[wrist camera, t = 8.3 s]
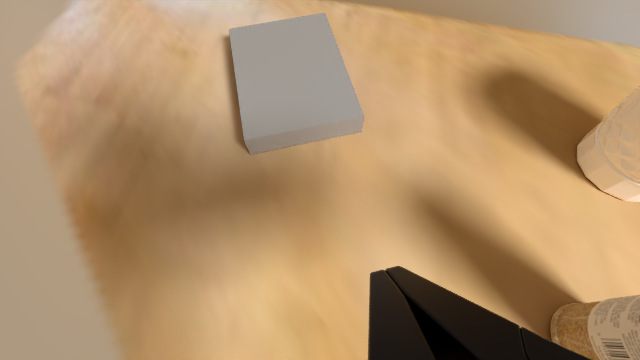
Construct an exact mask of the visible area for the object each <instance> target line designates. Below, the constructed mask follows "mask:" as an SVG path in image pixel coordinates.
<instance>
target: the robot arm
mask: <svg viewBox="0 0 640 360" xmlns="http://www.w3.org/2000/svg"><path fill="white" fill-rule="evenodd" d="M368 360H592V359H590V358H587V357H585V356H583V355H581V354H578V353H576V352H574V351H571V350H569V349H567V348H565V347H563V346H561V345H559V344H557V343H554V342H552V341H550V340H548V339H546V338H544V337H542V336H540V335H538V334H536V333H534V332H532V331H530V330H528V329H526V328H524V327H521V328H520V327H519V325H517V324H515V323H513V322H511V321H509V320H507V319H505V318H503V317H501V316H499V315H497V314H495V313H493V312H491V311H489V310H487V309H485V308H483V307H481V306H479V305H477V304H475V303H473V302H471V301H469V300H467V299H465V298H463V297H461V296H459V295H457V294H455V293H453V292H451V291H449V290H447V289H445V288H443V287H441V286H439V285H437V284H435V283H433V282H431V281H429V280H427V279H425V278H423V277H421V276H419V275H417V274H415V273H413V272H411V271H409V270H407V269H405V268H403V267H400V266H396V267H392V268H388V269H386V270H380V271H375V272H372V273H371V274H370V296H369V338H368Z"/></svg>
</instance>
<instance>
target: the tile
mask: <svg viewBox="0 0 640 360" xmlns="http://www.w3.org/2000/svg"><path fill="white" fill-rule="evenodd" d="M229 34H230V42H231V49H232V56H233V64H234V71H235V78H236V85H237V93H238V100H239V107H240V115H241V122H242V129H243V136H244V141H245V144H246V146H247V148H248V151H249V153H250V155H252V154H257V153H262V152H267V151H271V150H276V149H281V148H286V147H291V146H296V145H301V144H305V143H310V142H315V141H320V140H325V139H330V138H335V137H339V136H344V135H349V134H354V133H359V132H362V126H363V120H364V115H363V112H362V109H361V107H360V104H359V101H358V99H357V96H356V93H355V91H354V88H353V86H352V83H351V80H350V78H349V75H348V72H347V70H346V67H345V64H344V62H343V59H342V56H341V54H340V51H339V48H338V46H337V43H336V41H335V38H334V35H333V33H332V30H331V27H330V25H329V22H328V19H327V17H326V14H325V13H321V14H315V15H309V16H303V17H297V18H291V19H285V20H279V21H273V22H268V23H262V24H256V25H250V26H244V27H238V28H232V29H229Z"/></svg>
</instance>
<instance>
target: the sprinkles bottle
mask: <svg viewBox="0 0 640 360" xmlns="http://www.w3.org/2000/svg"><path fill="white" fill-rule="evenodd" d="M550 333H551V339H552V342H554V343H557V344H559V345H561V346H563V347H565V348H567V349H569V350H571V351H574V352H576V353H578V354H581V355H583V356H585V357H587V358H590V359H592V360H640V295H636V296H628V297H620V298H612V299H607V300H604V301H600V302H591V303H570V304H567V305H564V306H562V307H560V308H559V309H558V310H557V311H556V312H555V313H554V314H553V316H552V319H551V327H550Z"/></svg>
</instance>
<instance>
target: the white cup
mask: <svg viewBox="0 0 640 360" xmlns="http://www.w3.org/2000/svg"><path fill="white" fill-rule="evenodd" d="M577 162H578V164H579V165H580V167H581V169H582V171H583V173H584V174H585V176H586V177H587V178H588V179H589V180H590V181H591V182H592V183H593V184H595V185H596V186H597V187H598V188H599V189H600V190H602V191H603V192H605V193H608V194H610V195H612V196H614V197H617V198H619V199H621V200H623V201H632V202H640V85H639V86H638V87H637V88H636V89H635V90H634V91H633V92H632V93H631V94H630V95H629V96H627V97H626V98H625V99H624V100H623V101H622V102H621V103H620V104H619V105H618V106H616V107H615V108H614V109H613V110H612V111H611V112H610V113H609V114H608V115H606V116H605V117H604V119H603V120H602V122H600V123H599V124H598V125H597V126H596V127H595V128H593V129H592V130H591V131H590V132H589V133H588V134H586V135H585V137H584V138H583V139H582V140H581V142H580V143H579V144H578V145H577Z"/></svg>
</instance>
